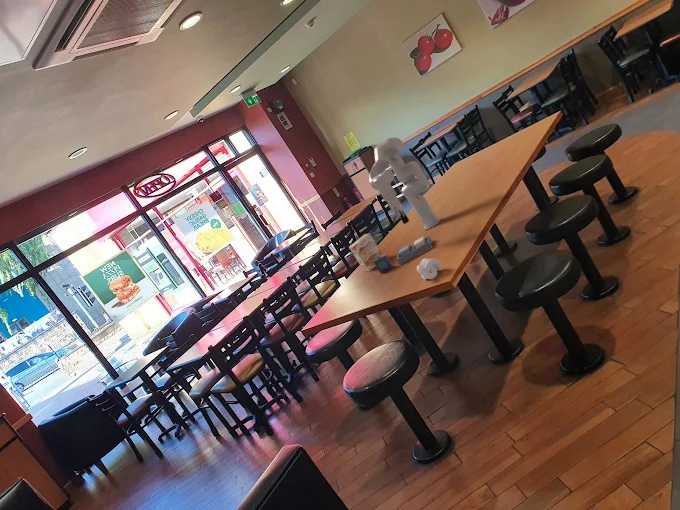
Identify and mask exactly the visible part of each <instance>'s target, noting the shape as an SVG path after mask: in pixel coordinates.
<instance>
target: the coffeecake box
mask: <svg viewBox="0 0 680 510" xmlns="http://www.w3.org/2000/svg"><path fill="white" fill-rule="evenodd" d="M348 248H349V250H350V252H351V253H352V254H353V256H354V258H355V259H356V261H357V262H358V264H359V265H360V267H361V268H362V270H363V272H370V271H372V270H373V269H374V268H375V267H376V266H375V264H374V263H373V261H374V260H375V259H377V256H378V255H379V257H381V256H383V255H384V253H383V252H382V250H381V249H380V247H379V246H378V244H377V242H376V241H375V240H374V238H373V237H372V235H371V234H370V233H365V234H363V235H362V236H361V237H360V238H358V239H357V240H356V241H354V243H352V244H350V245H349V246H348Z"/></svg>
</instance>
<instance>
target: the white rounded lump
mask: <svg viewBox="0 0 680 510" xmlns="http://www.w3.org/2000/svg"><path fill="white" fill-rule="evenodd" d="M441 268H442V264H441V261H440V260H439V259H437V258H434V257H433V258H423V259H422V260H421V261H420V263H419V264H418V265H417V266H416V271H417V273H418V274H419V275H420V276H421V278H422V279H423V280H424V281H427V280H434V278H435V277H436V276H437V277H438V275H439V272H440V270H441ZM437 271H438V272H437ZM437 274H438V275H437ZM437 277H436V278H437ZM436 278H435V279H436ZM426 279H427V280H426Z"/></svg>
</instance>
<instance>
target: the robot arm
mask: <svg viewBox="0 0 680 510" xmlns="http://www.w3.org/2000/svg"><path fill="white" fill-rule="evenodd" d="M403 149H404V143H403V141H402V140H401V139H400V138H399V137H388V138H386V139H385V140H384V141H383V140H382V142H380V143H378V144H377V145H376V146H375V147H374V150H373V153H374V164H373V166H372V167H371V170H369V171H370V172H369V184H370V187H371V188H372V189H373V190H377V191H378V192H379V194H380V195H381V197H382V198H383V200H384V201H385V202H386V203H387V204H388V206H389V208H390V210H391V211H392V213H393V215H394V216H398V217H399V219H400V220H401V221H402V222H401V223H403V224H404V225H406V224H407V223H409V221H410V219H409V217H408V216H407V214H406V213H405V211H404V206H403V204H402V202H401V201H400V199H398V197H397V192H396V191H395V189H394V188H393V186H392V185H391V183H392V182H394V179H395V177H396V178H397V180H398V182H400V183H401V184H403V183H406V182H407V183H406V184H405V185H404V186H402V187H401V192H402V195H403V196H404V198H406V200H407V201H408V202H409V203H410V205H411V206H412V207H413V209H414V212H416V214H417V215H418V217H419V219H420V220H421V222H422V223H423V225H424V226H423V230H424V231H427V230H429V228H430V229H432V228H434V227H435V226H437V225H438V224H439V223H440V222H441V221H442V218H441V217H438V216H437V215H436V213H435V211H434V210H433V208H432V207H431V205H430V203H429V202H428V199H426V198H425V197H424V196H422V195H421V194H422V193H424V192H425V191H428V189H429V187H430V183H429V181H428V180H429V179H428V178H427V177H426V175H425V173H424V171H423V169H422V168H421V165H419V163H418V162H416V160H412V161H409V162H408V163H406V164H405V162H404V160H403V158H402V157H401V156H399V155H397V154H398V153H399V152H401V151H402V150H403ZM389 166H390V168H391V169H392V170H390V169H387V168H388V167H389ZM413 178H414V179H413ZM412 179H413V180H412ZM410 180H411V181H410ZM408 181H409V182H408ZM440 220H441V221H440ZM439 221H440V222H439ZM438 222H439V223H438ZM437 223H438V224H437ZM436 224H437V225H436ZM434 225H435V226H434ZM433 226H434V227H433ZM431 227H432V228H431ZM426 229H427V230H426Z"/></svg>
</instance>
